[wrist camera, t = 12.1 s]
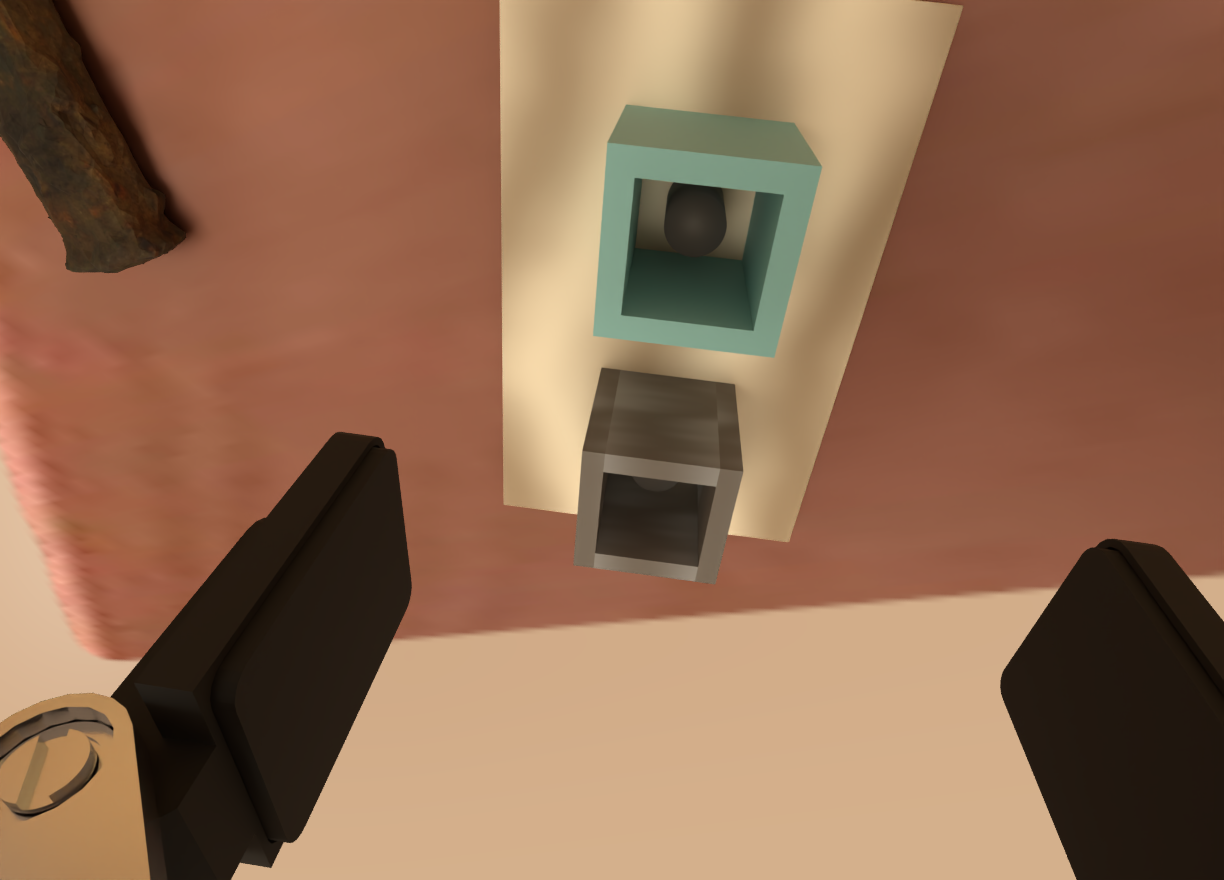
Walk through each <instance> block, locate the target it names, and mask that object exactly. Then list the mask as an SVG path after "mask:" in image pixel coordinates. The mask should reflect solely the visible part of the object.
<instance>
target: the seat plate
mask: <svg viewBox="0 0 1224 880" xmlns="http://www.w3.org/2000/svg"><path fill="white" fill-rule="evenodd" d="M962 9H963V6H962V5H955V4H947V3H937V2H928V1H919V0H500V105H501V233H502V362H503V490H504V505H510V506H518V507H526V508H533V509H541V510H548V511H556V512H563V513H571V514H577V526H576V539H575V552H574V565H576V566H584V567H591V568H598V569H606V570H613V571H621V572H628V573H636V574H643V575H651V576H658V577H665V578H673V579H680V580H688V581H695V582H703V583H710V584H715V583H716V579H717V575H718V571H719V567H720V563H721V559H722V555H723V551H724V547H725V543H726V539H727V535H728V534H730V535H738V536H745V537H753V538H760V539H768V540H775V541H783V542H789V540H790V537H791V533H792V530H793V527H794V524H795V521H796V518H797V515H798V512H799V509H800V506H801V503H802V500H803V497H804V494H805V491H806V487H807V484H808V481H809V478H810V475H811V472H812V469H813V466H814V463H815V460H816V457H817V454H818V451H819V448H820V445H821V441H822V438H823V435H824V432H825V429H826V426H827V423H828V420H829V417H830V414H831V411H832V408H833V405H834V402H835V399H836V395H837V392H838V389H839V386H840V383H841V380H842V377H843V374H844V371H845V368H846V365H847V362H848V359H849V356H850V352H851V349H852V346H853V343H854V340H855V337H856V334H857V331H858V328H859V325H860V322H861V319H862V316H863V313H864V310H865V306H866V303H867V300H868V297H869V294H870V291H871V288H872V285H873V282H874V279H875V276H876V273H877V270H878V267H879V264H880V260H881V257H882V254H883V251H884V248H885V245H886V242H887V239H888V236H889V233H890V230H891V227H892V224H893V221H894V218H895V214H896V211H897V208H898V205H899V202H900V199H901V196H902V193H903V190H904V187H905V184H906V181H907V178H908V175H909V172H910V168H911V165H912V162H913V159H914V156H915V153H916V150H917V147H918V144H919V141H920V138H921V135H922V132H923V129H924V126H925V122H926V119H927V116H928V113H929V110H930V107H931V104H932V101H933V98H934V95H935V92H936V89H937V86H938V83H939V80H940V76H941V73H942V70H943V67H944V64H945V61H946V58H947V55H948V52H949V49H950V46H951V43H952V40H953V37H954V34H955V30H956V27H957V24H958V21H959V18H960V15H961V12H962ZM626 105H635V106H644V107H653V108H662V109H672V110H681V111H690V112H699V113H708V114H717V115H726V116H736V117H745V118H754V119H763V120H772V121H781V122H790V123H795V125H796V126H797V128H798V129H799V131H800V133H801V134H802V136H803V137H804V139H805V140H806V142H807V143H808V145H809V147H810V148H811V150H812V151H813V153H814V154H815V156H816V157H817V159H818V161H819V162H820V164H821V165H822V170H821V174H820V178H819V182H818V186H817V190H816V194H815V198H814V202H813V206H812V210H811V214H810V218H809V222H808V226H807V230H806V234H805V238H804V242H803V246H802V250H801V254H800V258H799V262H798V266H797V270H796V274H795V278H794V282H793V286H792V290H791V294H790V298H789V301H788V305H787V309H786V313H785V317H784V321H783V325H782V329H781V333H780V337H779V341H778V345H777V349H776V353H775V357H774V358H771V357H763V356H754V355H746V354H738V353H729V352H721V351H713V350H705V349H696V348H688V347H680V346H672V345H663V344H655V343H647V342H638V341H630V340H622V339H614V338H605V337H597V336H593V328H594V315H595V302H596V288H597V275H598V261H599V248H600V234H601V221H602V207H603V194H604V180H605V167H606V153H607V142H608V140H609V138H610V136H611V134H612V132H613V130H614V128H615V126H616V124H617V122H618V120H619V118H620V116H621V114H622V112H623V110H624V108H625V106H626ZM755 193H756V191H747V190H738V189H730V188H721V187H712V186H703V185H694V184H685V183H676V182H667V181H659V180H650V179H642V187H641V197H640V206H639V216H638V225H637V235H636V244H635V248H640V249H649V250H657V251H666V252H674V253H679V254H681V255H684V256H688V257H701V256H709V257H717V258H726V259H735V260H742V258H743V253H744V248H745V243H746V238H747V233H748V228H749V223H750V218H751V213H752V208H753V203H754V198H755Z"/></svg>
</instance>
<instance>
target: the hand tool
mask: <svg viewBox="0 0 1224 880" xmlns="http://www.w3.org/2000/svg"><path fill="white" fill-rule="evenodd" d="M0 137H2V140H3V141H4V142H5V143H6V145H7V146H8V148H9V149H10V151H11V152H12V153H13V155H14V157H15V159H16V161H17V163H18V165H19V166H20V168H21V169H22V171H23V172H24V174H25V175H26V177H27V179H28V180H29V182H30V183H31V185H32V187H33V189H34V191H35V193H36V195H37V197H38V198H39V199H40V201H41V202H42V203H43V206H44V208H45V210H46V212H47V213H48V215H49V217H48V218H50V219H51V220H52V222H53V223H54V225H55V227H56V228H57V229H58V231H59V232H60V233H61V235H62V237H63V242H64V245H65V248H66V252H67V253H66V263H65V265H66V269H67V270H70V271H72V272H104V273H118V272H120V271H122V270H125V269H127V268H130V267H133V266H137V265H140V264H144V263H145V262H147V261H150V260H152V259H154V258H157V257H159V256H161V255H163V254H166V253H168V251H170V250H173V249H174V248H175V247H176V246H177V245H178V244H180V243H181V242H182V241H183V240H184V239H185V238H186V233H185V232H184V231H183V230H181V229H180V228H178V227H177V226H175V225H174V224H173V223H171V222H170V221H169V220H168V219H167V218H166V216H165V215H164V214H163V212H164V210H165V195H164V194H163V193H162V192H160V191H158V190H155V189H153V188H151V187H150V186H149V184H148V183H147V181H146V180H145V178H144V176H143V175H142V173H141V171H140V169H139V167H138V165H137V163H136V162H135V160H134V158H133V156H132V154H131V152H130V150H129V148H128V145H127V143H126V141H125V139H124V137H123V135H122V134H121V132H120V131H119V129H118V128H117V126H116V124H115V123H114V121H113V119H112V117H111V116H110V114H109V112H108V110H107V108H106V107H105V105H104V103H103V101H102V99H101V97H100V95H99V93H98V91H97V89H96V88H95V86H94V84H93V82H92V80H91V78H90V76H89V74H88V72H87V70H86V68H85V66H84V64H83V62H82V55H81V48H80V45H79V44H78V43H77V42H76V41H75V40H74V39H73V38H72V37H71V36H70V35H69V34H68V32H67V30H66V29H65V27H64V25H63V23H62V21H61V19H60V16H59V14H58V12H57V11H56V9H55V6H54V4H53V2H52V0H0Z"/></svg>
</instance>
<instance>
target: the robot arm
mask: <svg viewBox="0 0 1224 880" xmlns="http://www.w3.org/2000/svg"><path fill="white" fill-rule="evenodd" d="M411 588H412V584H411V574H410V566H409V558H408V550H407V541H406V533H405V525H404V516H403V508H402V500H401V491H400V483H399V475H398V466H397V458H396V454H395V452H394V451H393V450H391V449H385V447H384V443H383V441H382V439H381V438H379V437H374V436H367V435H359V434H352V433H345V432H337V433H335V434H334V435H333V436H332V437H331V438H330V439H329V440H328V441H327V443H326V444H325V445H324V446H323V448H322V449H321V450H320V451H319V453H318V454H317V455H316V456H315V458H314V459H313V460H312V461H311V463H310V464H309V465H308V466H307V468H306V469H305V470H304V471H303V473H302V474H301V475H300V476H299V478H298V479H297V480H296V481H295V483H294V484H293V485H292V486H291V488H290V489H289V490H288V491H287V492H286V494H285V495H284V496H283V497H282V499H281V500H280V501H279V502H278V504H277V505H276V506H275V507H274V509H273V510H272V511H271V512H270V514H269V515H268V516H267V517H266V518H263V519H261V520H258V521H256V522H255V523H254V524H253V525H252V526H251V527H250V528H249V529H248V530H247V531H246V532H245V533H244V535H243V536H242V537H241V538H240V539H239V541H238V542H237V543H236V544H235V546H234V547H233V548H232V549H231V550H230V552H229V553H228V554H227V555H226V556H225V558H224V559H223V560H222V561H221V563H220V564H219V565H218V566H217V567H216V569H215V570H214V571H213V572H212V574H211V575H210V576H209V577H208V578H207V580H206V581H205V582H204V583H203V585H202V586H201V587H200V588H199V589H198V591H197V592H196V593H195V594H194V596H193V597H192V598H191V599H190V600H189V602H188V603H187V604H186V605H185V607H184V608H183V609H182V610H181V611H180V613H179V614H178V615H177V616H176V618H175V619H174V620H173V621H172V622H171V624H170V625H169V626H168V627H167V629H166V630H165V631H164V632H163V633H162V635H161V636H160V637H159V638H158V640H157V641H156V642H155V643H154V644H153V646H152V647H151V648H150V649H149V651H148V652H147V653H146V654H145V655H144V657H143V658H142V659H141V660H140V662H139V663H138V664H137V665H136V666H135V668H134V669H133V670H132V671H131V673H130V674H129V675H128V676H127V677H126V679H125V680H124V681H123V682H122V684H121V685H120V686H119V687H118V688H117V690H116V691H115V692H114V693H113V695H112V696H111V697H107V696H103V695H99V694H95V693H83V694H67V695H63V696H60V697H56V698H52V699H48V700H44V701H41V702H39V703H36V704H34V705H32V706H30V707H28V708H26V709H23V710H21V711H19V712H17V713H15V714H13V715H11V716H10V717H8V718H7V719H5V720H4V721H2V722H1V723H0V880H231V878H232V876H233V874H234V873H235V871H236V869H237V867H238V865H239V863H245V864H252V865H258V866H263V867H269V868H271V867H272V865H273V863H274V861H275V859H276V857H277V854H278V853H279V851H280V848H281V846H282V844H283V842H287V843H292V842H294V841H295V840H297V838H298V837H299V836H300V834H301V833H302V831H303V829H304V827H305V825H306V823H307V821H308V819H309V817H310V815H311V813H312V811H313V808H314V806H315V804H316V802H317V800H318V798H319V796H320V793H321V791H322V789H323V787H324V785H325V783H326V781H327V778H328V776H329V774H330V772H331V770H332V768H333V766H334V764H335V761H336V759H337V757H338V755H339V753H340V751H341V748H342V746H343V744H344V742H345V740H346V738H347V736H348V734H349V731H350V729H351V727H352V725H353V723H354V721H355V719H356V716H357V714H358V712H359V710H360V708H361V706H362V704H363V701H364V699H365V697H366V695H367V693H368V691H369V689H370V687H371V684H372V682H373V680H374V678H375V676H376V674H377V672H378V669H379V667H380V665H381V663H382V661H383V659H384V657H385V654H386V652H387V650H388V648H389V646H390V644H391V642H392V639H393V637H394V635H395V633H396V631H397V629H398V627H399V625H400V622H401V620H402V618H403V616H404V614H405V612H406V609H407V607H408V604H409V600H410V596H411ZM1000 688H1001V694H1002V698H1003V700H1004V703H1005V706H1006V708H1007V710H1008V713H1009V715H1010V718H1011V720H1012V723H1013V725H1014V728H1015V730H1016V732H1017V735H1018V737H1019V740H1020V742H1021V744H1022V747H1023V750H1024V752H1025V754H1026V757H1027V759H1028V762H1029V764H1030V766H1031V769H1032V771H1033V774H1034V776H1035V779H1036V781H1037V784H1038V786H1039V789H1040V791H1041V794H1042V796H1043V798H1044V801H1045V803H1046V806H1047V808H1048V811H1049V813H1050V816H1051V818H1052V820H1053V823H1054V825H1055V828H1056V830H1057V833H1058V835H1059V838H1060V840H1061V843H1062V845H1063V847H1064V850H1065V852H1066V854H1067V857H1068V860H1069V862H1070V864H1071V867H1072V869H1073V872H1074V874H1075V877H1076V879H1077V880H1224V621H1223V620H1222V619H1221V618H1220V616H1219V615H1218V614H1217V613H1216V611H1215V610H1214V609H1213V608H1212V606H1211V605H1210V604H1209V603H1208V601H1207V600H1206V599H1205V598H1204V596H1203V595H1202V594H1201V593H1200V591H1199V590H1198V589H1197V588H1196V586H1195V585H1194V584H1193V582H1192V581H1191V580H1190V579H1189V577H1188V576H1187V575H1186V574H1185V572H1184V571H1183V570H1182V569H1181V567H1180V566H1179V565H1178V564H1177V562H1176V561H1175V560H1174V559H1173V557H1172V556H1171V555H1170V554H1169V553H1168V552H1167V551H1166V550H1165V549H1164V548H1163V547H1160V546H1157V545H1154V544H1147V543H1140V542H1132V541H1125V540H1118V539H1106V540H1104V541H1102V542H1100V543H1099V544H1098V545H1097V546H1096V547H1095V548H1089V549H1087V550H1086V551H1085V552H1084V553H1083V554H1082V555H1081V557H1080V558H1079V560H1078V561H1077V563H1076V564H1075V566H1074V567H1073V569H1072V570H1071V572H1070V573H1069V575H1068V576H1067V578H1066V579H1065V581H1064V582H1063V583H1062V585H1061V586H1060V588H1059V589H1058V591H1057V592H1056V594H1055V595H1054V597H1053V598H1052V600H1051V601H1050V603H1049V604H1048V606H1047V607H1046V609H1045V610H1044V612H1043V613H1042V615H1041V616H1040V618H1039V619H1038V620H1037V622H1036V624H1035V625H1034V626H1033V628H1032V629H1031V631H1030V632H1029V634H1028V635H1027V637H1026V638H1025V640H1024V641H1023V643H1022V644H1021V646H1020V647H1019V648H1018V650H1017V651H1016V653H1015V654H1014V656H1013V657H1012V659H1011V660H1010V662H1009V664H1008V665H1007V666H1006V668H1005V669H1004V671H1003V673H1002V677H1001V685H1000Z"/></svg>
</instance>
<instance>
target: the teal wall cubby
mask: <svg viewBox="0 0 1224 880" xmlns="http://www.w3.org/2000/svg"><path fill="white" fill-rule="evenodd" d="M821 170H822V165H821V164H820V162H819V161H818V159H817V157H816V156H815V154H814V153H813V151H812V150H811V148H810V147H809V145H808V143H807V142H806V140H805V139H804V137H803V136H802V134H801V133H800V131H799V129H798V128H797V126H796V125H795V123H790V122H781V121H772V120H763V119H754V118H745V117H736V116H726V115H717V114H708V113H699V112H690V111H681V110H672V109H662V108H653V107H644V106H635V105H626V106H625V108H624V110H623V112H622V114H621V116H620V118H619V120H618V122H617V124H616V126H615V128H614V130H613V132H612V134H611V136H610V138H609V140H608V142H607V153H606V167H605V180H604V194H603V207H602V221H601V234H600V248H599V261H598V275H597V288H596V302H595V315H594V328H593V336H597V337H605V338H614V339H622V340H630V341H638V342H647V343H655V344H663V345H672V346H680V347H688V348H696V349H705V350H713V351H721V352H729V353H738V354H746V355H754V356H763V357H771V358H774V357H775V353H776V349H777V345H778V341H779V337H780V333H781V329H782V325H783V321H784V317H785V313H786V309H787V305H788V301H789V298H790V294H791V290H792V286H793V282H794V278H795V274H796V270H797V266H798V262H799V258H800V254H801V250H802V246H803V242H804V238H805V234H806V230H807V226H808V222H809V218H810V214H811V210H812V206H813V202H814V198H815V194H816V190H817V186H818V182H819V178H820V174H821ZM642 179H650V180H659V181H667V182H676V183H685V184H694V185H703V186H712V187H721V188H730V189H738V190H747V191H756V193H755V198H754V203H753V208H752V213H751V218H750V223H749V228H748V233H747V238H746V243H745V248H744V253H743V258H742V260H735V259H726V258H717V257H709V256H701V257H688V256H684V255H681V254H679V253H674V252H666V251H657V250H649V249H640V248H635V244H636V235H637V225H638V216H639V206H640V197H641V187H642Z"/></svg>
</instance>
